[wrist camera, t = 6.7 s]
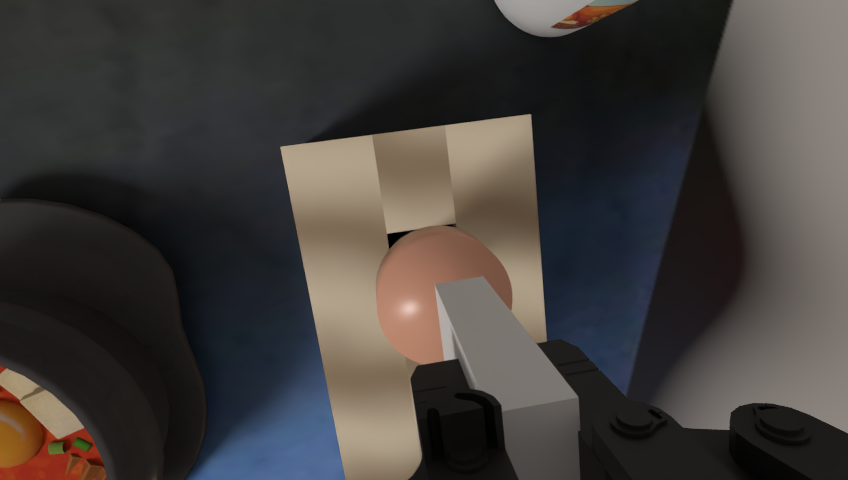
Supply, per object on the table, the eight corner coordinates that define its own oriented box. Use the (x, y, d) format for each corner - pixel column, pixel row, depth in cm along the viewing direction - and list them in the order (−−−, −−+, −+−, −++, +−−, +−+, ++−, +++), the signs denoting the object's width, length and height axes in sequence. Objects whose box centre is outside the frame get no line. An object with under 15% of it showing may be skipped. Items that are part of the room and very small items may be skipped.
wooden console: (516, 455, 34) (561, 549, 26) (367, 485, 33) (367, 592, 25) (485, 119, 28) (530, 113, 21) (304, 143, 27) (280, 146, 20)
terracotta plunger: (464, 277, 26) (517, 354, 17) (379, 290, 26) (387, 377, 17) (454, 193, 25) (506, 226, 16) (366, 205, 25) (366, 248, 15)
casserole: (182, 571, 33) (122, 715, 25) (-123, 538, 30) (-309, 691, 21) (253, 237, 28) (208, 278, 20) (-98, 155, 25) (-321, 164, 17)
